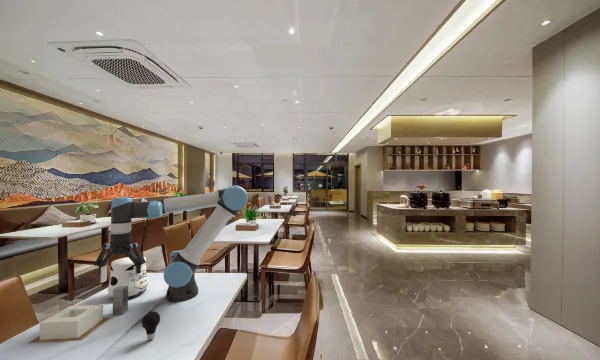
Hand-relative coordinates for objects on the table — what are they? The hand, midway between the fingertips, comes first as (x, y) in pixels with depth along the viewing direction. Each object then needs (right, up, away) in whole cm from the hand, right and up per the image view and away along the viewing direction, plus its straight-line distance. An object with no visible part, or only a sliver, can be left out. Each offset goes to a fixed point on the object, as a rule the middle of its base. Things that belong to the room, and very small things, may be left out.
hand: (119, 281), depth 111 cm
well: (-9, -13, -13) cm, 20 cm away
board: (-9, -15, -13) cm, 21 cm away
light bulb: (+25, -14, -19) cm, 34 cm away
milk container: (-11, -16, +22) cm, 29 cm away
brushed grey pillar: (0, -15, 0) cm, 15 cm away
